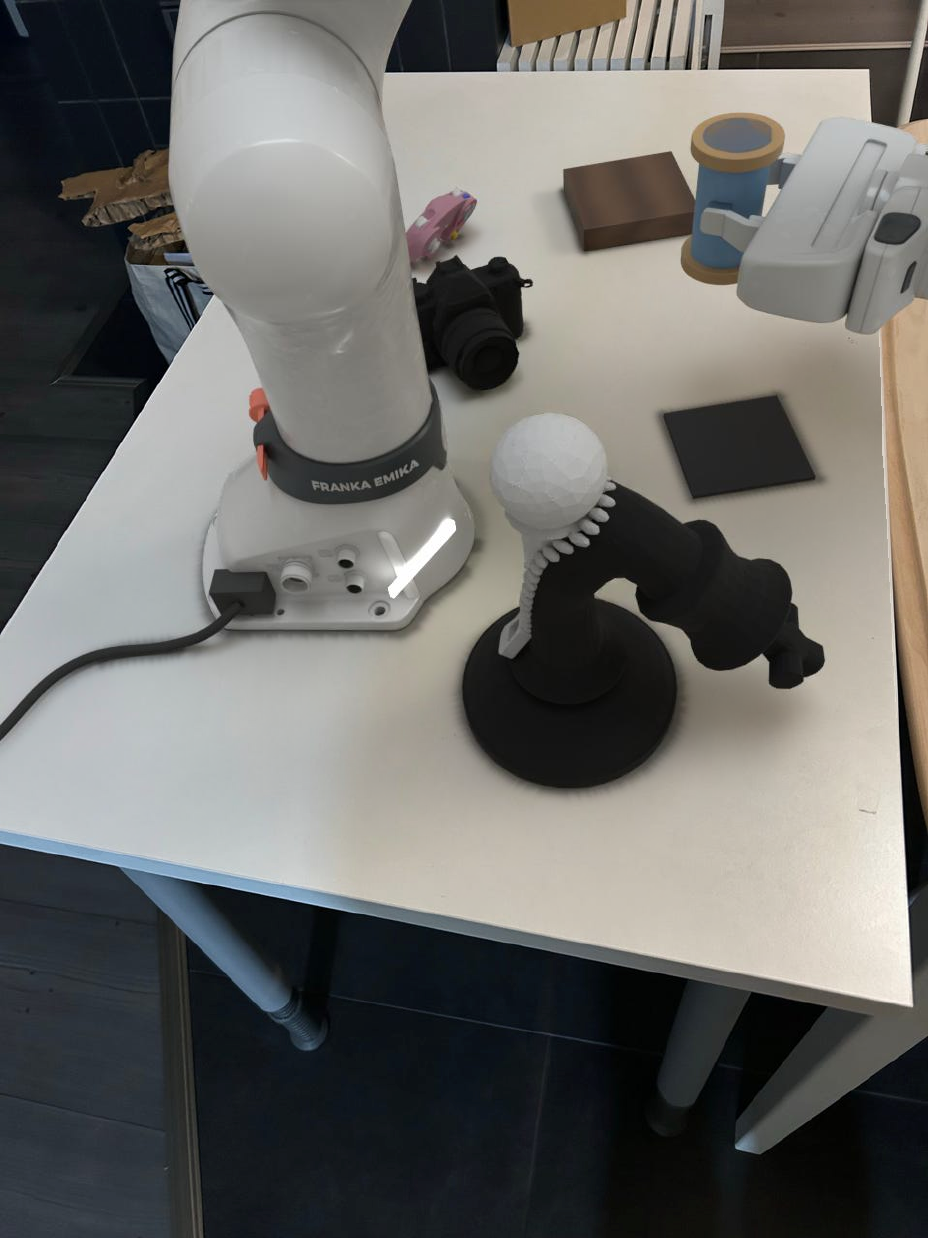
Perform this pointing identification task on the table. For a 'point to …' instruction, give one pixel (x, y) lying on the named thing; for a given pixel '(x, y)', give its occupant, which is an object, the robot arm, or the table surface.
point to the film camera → (472, 320)
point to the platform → (629, 200)
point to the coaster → (737, 447)
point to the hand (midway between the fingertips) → (718, 193)
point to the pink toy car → (439, 223)
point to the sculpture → (609, 614)
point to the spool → (728, 186)
